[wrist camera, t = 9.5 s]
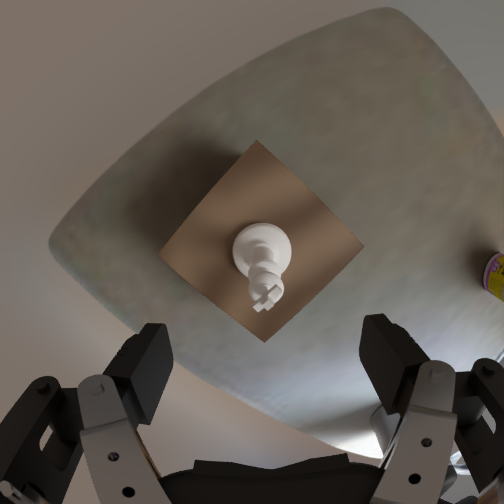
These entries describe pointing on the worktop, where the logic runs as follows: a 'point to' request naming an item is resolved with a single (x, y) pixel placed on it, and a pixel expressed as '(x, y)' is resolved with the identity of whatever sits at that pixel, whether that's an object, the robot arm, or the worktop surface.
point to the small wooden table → (251, 212)
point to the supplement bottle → (495, 276)
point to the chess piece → (263, 262)
